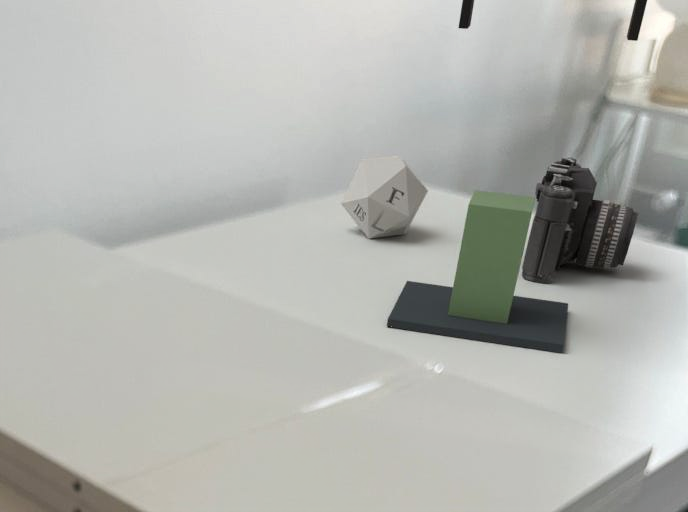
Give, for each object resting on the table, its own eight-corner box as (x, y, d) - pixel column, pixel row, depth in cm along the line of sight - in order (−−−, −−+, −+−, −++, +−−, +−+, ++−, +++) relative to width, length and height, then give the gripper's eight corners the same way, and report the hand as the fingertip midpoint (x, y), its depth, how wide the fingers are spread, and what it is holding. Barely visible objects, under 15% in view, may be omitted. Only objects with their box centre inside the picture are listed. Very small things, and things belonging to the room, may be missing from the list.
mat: (566, 311, 102) (568, 303, 101) (562, 353, 93) (564, 344, 92) (405, 288, 105) (406, 280, 105) (386, 326, 96) (387, 318, 96)
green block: (511, 305, 100) (535, 197, 94) (507, 324, 96) (532, 211, 90) (454, 297, 101) (474, 189, 95) (447, 315, 97) (468, 203, 91)
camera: (620, 294, 107) (649, 193, 101) (513, 279, 109) (536, 179, 103) (622, 257, 118) (648, 163, 112) (525, 244, 120) (546, 152, 114)
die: (325, 239, 121) (365, 178, 112) (339, 183, 124) (378, 121, 115) (389, 268, 123) (433, 211, 114) (401, 213, 126) (444, 154, 117)
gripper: (432, -321, 73) (391, 26, 86) (814, -321, 68) (709, 49, 80) (444, -305, 79) (403, 17, 91) (796, -305, 73) (701, 38, 86)
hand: (546, 33), depth 86 cm, fingers open, 13 cm apart
